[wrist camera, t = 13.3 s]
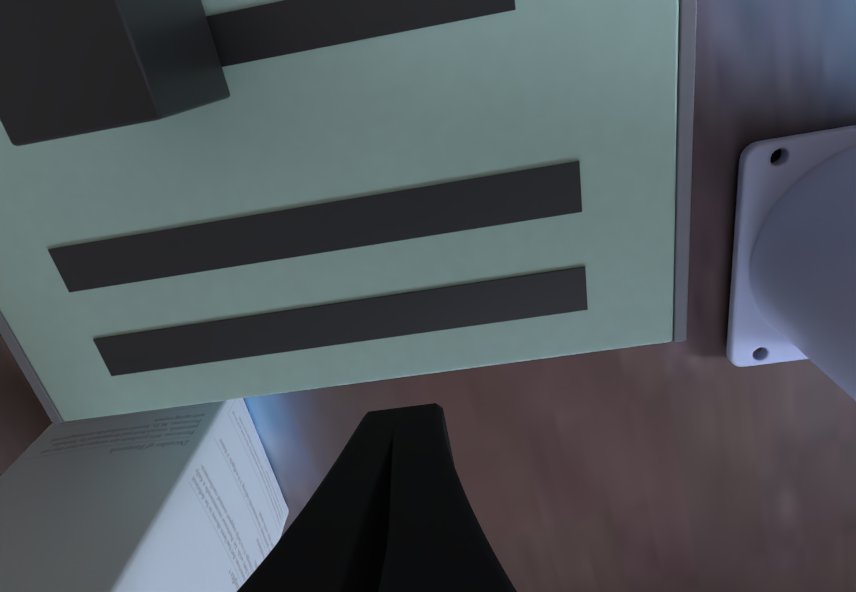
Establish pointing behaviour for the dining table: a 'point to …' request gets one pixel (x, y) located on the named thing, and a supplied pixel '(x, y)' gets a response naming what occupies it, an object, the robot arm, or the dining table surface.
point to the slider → (102, 65)
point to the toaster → (362, 205)
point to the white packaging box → (141, 504)
